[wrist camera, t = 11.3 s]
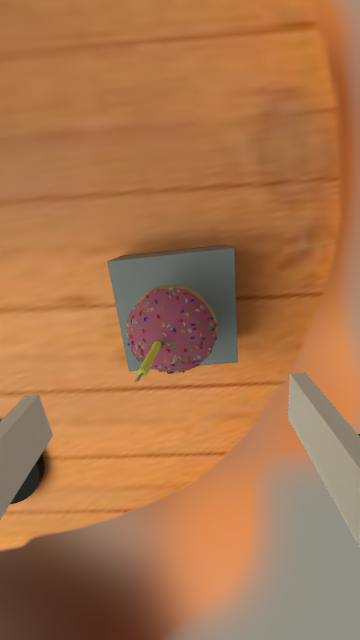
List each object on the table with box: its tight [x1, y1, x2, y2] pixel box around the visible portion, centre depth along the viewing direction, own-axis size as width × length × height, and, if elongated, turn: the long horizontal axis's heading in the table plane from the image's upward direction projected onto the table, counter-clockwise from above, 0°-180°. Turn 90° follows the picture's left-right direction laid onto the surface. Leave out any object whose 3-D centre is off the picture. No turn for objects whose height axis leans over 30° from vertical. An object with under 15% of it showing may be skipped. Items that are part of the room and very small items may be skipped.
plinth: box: [108, 245, 238, 371], centre depth 31 cm, size 13×13×6 cm
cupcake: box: [126, 286, 218, 382], centre depth 22 cm, size 9×8×12 cm
